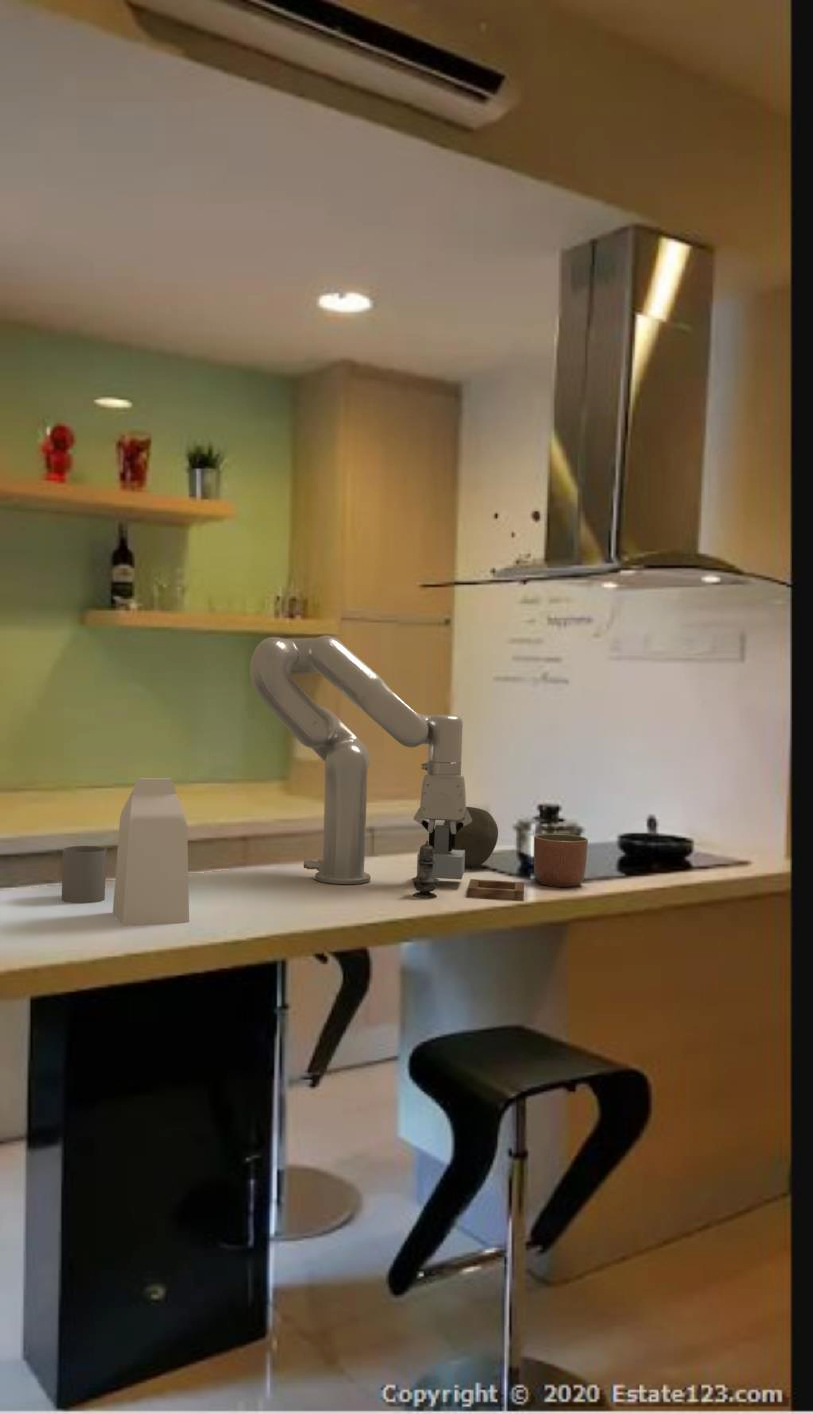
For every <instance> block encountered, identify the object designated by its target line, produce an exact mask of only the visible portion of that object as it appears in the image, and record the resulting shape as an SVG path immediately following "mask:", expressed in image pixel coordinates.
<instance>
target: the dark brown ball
mask: <svg viewBox="0 0 813 1414" xmlns="http://www.w3.org/2000/svg"><path fill="white" fill-rule="evenodd" d="M466 809H467V811H468V813H469V815H470V816H471V818H472V822H471V823H469V824H467V825H465V826H463V827H462V828H461V829H460V830H459V831H458V832H456V835H455V848H452V850H465V867H464V869H475V868H477V867H480V866H482V865H483V864H484V863H485V862H486V861H488V860H489V858H490V857H491V855H492V853H493V852H494V850H495V848H496V845H497V843H498V840H499V839H498V838H499V828H498V825H497V822H496V820H495V818H494V817H493V815H491V813H489V812H488V811H487V810H484V809H481V808H479V807H473V806H466ZM464 819H465V818H463V819H462V820H459V821H456V822H457V824H458V823H459V822H461V821H463V820H464ZM443 825H447V826H450V821H446V820H444V823H443ZM450 830H451V826H450Z"/></svg>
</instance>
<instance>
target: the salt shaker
mask: <svg viewBox="0 0 813 1414" xmlns="http://www.w3.org/2000/svg"><path fill="white" fill-rule="evenodd" d="M419 852H420V860H419V861H418V863H419V872H418V876H417V875H416V876H415V877H412V878H411V881H412V884H413V887H414V889H415V890H416V891H417V892H414V893H413V894H412V897H414V898H415V899H423V900H424V899H425V900H427V899H428V900H429V899H430V900H431V899H437V898H438V895H437V894H435V893H433V892H434V891H435V890H436V889H437V886H438V885H439V884H438V883H439V882H440V878H435V877H434V875H433V864H434V863H435V862H434V861H433V847H432V846H431V845H429V840H425V844H423V845H421V846H420V847H419Z"/></svg>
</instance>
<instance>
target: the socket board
mask: <svg viewBox="0 0 813 1414" xmlns="http://www.w3.org/2000/svg"><path fill="white" fill-rule="evenodd" d="M466 894H467V895H466V896H467V898H472V899H488V900H491V899H492V900H504V901H505V900H506V901H519V900H523V901H524V900H525V899H524V897H525V895H524V894H525V882H524V881H509V880H506V881H505V880H494V879H493V880H491V879H476V878H474V879H473V878H470V880H469V882H468V885H467V893H466ZM523 901H522V902H523Z"/></svg>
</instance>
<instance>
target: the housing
mask: <svg viewBox="0 0 813 1414" xmlns="http://www.w3.org/2000/svg"><path fill="white" fill-rule="evenodd" d="M434 829H435V840H434V851H433V861H434V862H435V863H434V864H433V875H434V877H435V878H436V879H443V880H463V878H464V877H463V876H464V875H465V868H464V867H465V850H452V851H451V852H449V851H448V846H449V834H450V826H447V825H444V824H443V825H442V824H441V825H440V824H436V825H435V826H434ZM416 859H417V860H416V864H417V865H416V876H418V872H419V863H418V861H419V860H420V851H419V852H418V853H417V857H416Z"/></svg>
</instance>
